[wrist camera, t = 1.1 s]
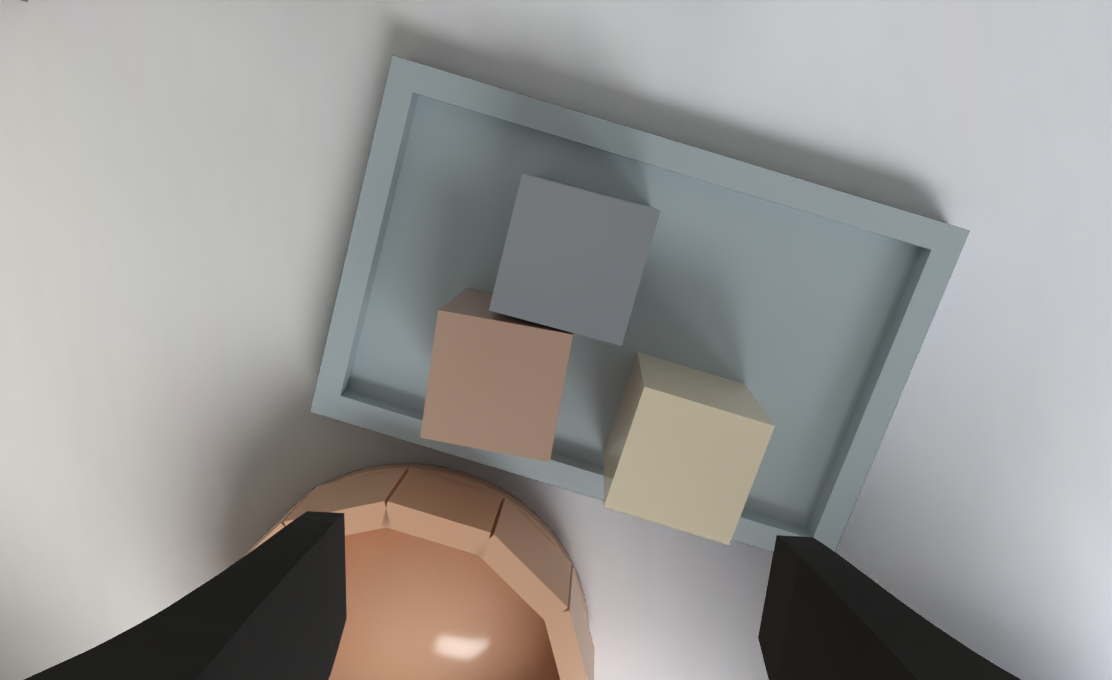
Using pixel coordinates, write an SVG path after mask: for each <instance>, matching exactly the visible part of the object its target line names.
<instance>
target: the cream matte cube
mask: <svg viewBox="0 0 1112 680" xmlns="http://www.w3.org/2000/svg"><path fill="white" fill-rule="evenodd" d="M774 427H775V425H774V424H773V423H772V421H771V420H770V418H769V417H768V416H767V414H766V413H765V411H764V410H763V408H762V407H761V406H760V404H759V403H758V401H757V400H756V399H755V397H754V396H753V394H752V393H751V391H750V390H749V389H748V387H747V386H746V384H743V383H739V382H736V381H733V380H729V379H726V378H723V377H720V376H716V375H713V374H710V373H706V372H703V371H700V370H696V369H693V368H690V367H687V366H683V365H680V364H677V363H673V362H670V361H667V360H664V359H660V358H657V357H654V356H650V355H647V354H644V353H640V352H637V354H636V357H635V360H634V363H633V366H632V369H631V372H630V375H629V378H628V381H627V384H626V387H625V390H624V393H623V396H622V399H621V402H620V405H619V409H618V412H617V415H616V418H615V421H614V424H613V427H612V430H611V433H610V436H609V439H608V442H607V445H606V448H605V451H604V507H605V508H608V509H611V510H615V511H618V512H621V513H624V514H628V515H631V516H634V517H638V518H641V519H644V520H648V521H651V522H654V523H657V524H661V525H664V526H667V527H671V528H674V529H677V530H681V531H684V532H687V533H690V534H694V535H697V536H700V537H704V538H707V539H710V540H713V541H717V542H720V543H723V544H727V545H730V542H731V539H732V537H733V534H734V532H735V529H736V526H737V524H738V521H739V519H740V516H741V513H742V511H743V508H744V506H745V503H746V500H747V498H748V495H749V493H750V490H751V487H752V485H753V482H754V479H755V477H756V474H757V472H758V469H759V466H760V464H761V461H762V459H763V456H764V453H765V451H766V448H767V446H768V443H769V440H770V438H771V435H772V433H773V430H774Z"/></svg>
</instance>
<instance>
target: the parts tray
mask: <svg viewBox="0 0 1112 680" xmlns="http://www.w3.org/2000/svg"><path fill="white" fill-rule="evenodd" d="M522 174H529V175H537V176H541V177H545V178H548V179H552V180H556V181H560V182H563V183H567V184H571V185H574V186H578V187H582V188H586V189H589V190H593V191H597V192H601V193H604V194H608V195H612V196H616V197H619V198H623V199H627V200H631V201H634V202H638V203H642V204H646V205H649V206H652V207H654V208H656V209H658V210H660V211H661V212H660V215H659V218H658V222H657V225H656V229H655V232H654V236H653V239H652V243H651V246H650V250H649V253H648V257H647V260H646V264H645V267H644V271H643V274H642V277H641V281H640V284H639V288H638V291H637V295H636V298H635V302H634V305H633V309H632V312H631V316H630V319H629V323H628V326H627V329H626V333H625V336H624V340H623V343H622V346H620V345H616V344H612V343H608V342H605V341H601V340H597V339H594V338H590V337H586V336H582V335H579V334H575V333H574V334H573V340H572V345H571V351H570V356H569V361H568V367H567V372H566V378H565V383H564V389H563V394H562V400H561V405H560V411H559V416H558V421H557V427H556V432H555V437H554V442H553V447H552V452H551V458H550V462H547V461H541V460H536V459H531V458H525V457H520V456H515V455H510V454H504V453H499V452H494V451H488V450H483V449H478V448H472V447H467V446H462V445H456V444H451V443H446V442H440V441H435V440H430V439H424V438H420V435H421V428H422V421H423V414H424V407H425V400H426V392H427V385H428V378H429V371H430V364H431V357H432V350H433V343H434V335H435V328H436V321H437V314H438V310H439V309H440V308H441V307H443V306H444V305H445V304H446V303H448V302H449V301H450V300H452V299H453V298H454V297H456V296H457V295H458V294H459V293H461V292H462V291H463V290H465V289H466V288H469V289H475V290H480V291H486V292H491V293H493V291H494V286H495V282H496V278H497V274H498V270H499V266H500V262H501V258H502V254H503V250H504V245H505V241H506V237H507V233H508V229H509V225H510V221H511V217H512V213H513V208H514V204H515V200H516V196H517V192H518V188H519V184H520V180H521V176H522ZM969 232H970V230H966V229H963V228H960V227H957V226H953V225H950V224H947V223H943V222H940V221H937V220H933V219H930V218H927V217H924V216H920V215H917V214H914V213H910V212H907V211H904V210H901V209H897V208H894V207H891V206H887V205H884V204H881V203H877V202H874V201H871V200H868V199H864V198H861V197H858V196H854V195H851V194H848V193H845V192H841V191H838V190H835V189H831V188H828V187H825V186H821V185H818V184H815V183H812V182H808V181H805V180H802V179H798V178H795V177H792V176H789V175H785V174H782V173H779V172H775V171H772V170H769V169H765V168H762V167H759V166H756V165H752V164H749V163H746V162H742V161H739V160H736V159H732V158H729V157H726V156H723V155H719V154H716V153H713V152H709V151H706V150H703V149H700V148H696V147H693V146H690V145H686V144H683V143H680V142H676V141H673V140H670V139H667V138H663V137H660V136H657V135H653V134H650V133H647V132H644V131H640V130H637V129H634V128H630V127H627V126H624V125H620V124H617V123H614V122H611V121H607V120H604V119H601V118H597V117H594V116H591V115H588V114H584V113H581V112H578V111H574V110H571V109H568V108H564V107H561V106H558V105H555V104H551V103H548V102H545V101H541V100H538V99H535V98H532V97H528V96H525V95H522V94H518V93H515V92H512V91H508V90H505V89H502V88H499V87H495V86H492V85H489V84H485V83H482V82H479V81H476V80H472V79H469V78H466V77H462V76H459V75H456V74H452V73H449V72H446V71H443V70H439V69H436V68H433V67H429V66H426V65H423V64H419V63H416V62H413V61H410V60H406V59H403V58H400V57H396V56H393V55H392V59H391V64H390V68H389V72H388V77H387V81H386V85H385V90H384V94H383V98H382V103H381V107H380V111H379V116H378V120H377V124H376V129H375V133H374V137H373V142H372V146H371V150H370V155H369V159H368V163H367V168H366V172H365V176H364V181H363V185H362V189H361V194H360V198H359V202H358V207H357V211H356V215H355V220H354V224H353V228H352V233H351V237H350V241H349V246H348V250H347V254H346V259H345V263H344V267H343V272H342V276H341V280H340V285H339V289H338V293H337V298H336V302H335V306H334V311H333V315H332V319H331V324H330V328H329V332H328V337H327V341H326V345H325V350H324V354H323V358H322V363H321V367H320V371H319V376H318V380H317V384H316V389H315V393H314V397H313V402H312V406H311V410H310V412H313V413H316V414H319V415H323V416H326V417H329V418H332V419H336V420H339V421H342V422H346V423H349V424H352V425H356V426H359V427H362V428H365V429H369V430H372V431H375V432H379V433H382V434H385V435H389V436H392V437H395V438H398V439H402V440H405V441H408V442H412V443H415V444H418V445H422V446H425V447H428V448H431V449H435V450H438V451H441V452H445V453H448V454H451V455H454V456H458V457H461V458H464V459H468V460H471V461H474V462H478V463H481V464H484V465H487V466H491V467H494V468H497V469H501V470H504V471H507V472H511V473H514V474H517V475H520V476H524V477H527V478H530V479H534V480H537V481H540V482H543V483H547V484H550V485H553V486H557V487H560V488H563V489H567V490H570V491H573V492H576V493H580V494H583V495H586V496H590V497H593V498H596V499H600V500H603V501H604V451H605V448H606V445H607V442H608V439H609V436H610V433H611V430H612V427H613V424H614V421H615V418H616V415H617V412H618V409H619V405H620V402H621V399H622V396H623V393H624V390H625V387H626V384H627V381H628V378H629V375H630V372H631V369H632V366H633V363H634V360H635V357H636V354H637V352H640V353H644V354H647V355H650V356H654V357H657V358H660V359H664V360H667V361H670V362H673V363H677V364H680V365H683V366H687V367H690V368H693V369H696V370H700V371H703V372H706V373H710V374H713V375H716V376H720V377H723V378H726V379H729V380H733V381H736V382H739V383H743V384H746V386H747V387H748V389H749V390H750V391H751V393H752V394H753V396H754V397H755V399H756V400H757V401H758V403H759V404H760V406H761V407H762V408H763V410H764V411H765V413H766V414H767V416H768V417H769V418H770V420H771V421H772V423H773V424H774V425H775V427H774V430H773V433H772V435H771V438H770V440H769V443H768V446H767V448H766V451H765V453H764V456H763V459H762V461H761V464H760V466H759V469H758V472H757V474H756V477H755V479H754V482H753V485H752V487H751V490H750V493H749V495H748V498H747V500H746V503H745V506H744V508H743V511H742V513H741V516H740V519H739V521H738V524H737V526H736V529H735V532H734V534H733V537H732V539H731V540H735V541H738V542H741V543H745V544H748V545H751V546H754V547H758V548H761V549H764V550H768V551H771V552H774V547H775V542H776V536H777V535H781V536H801V537H813V538H815V539H816V540H818V541H820V542H821V543H823V544H824V545H826V546H827V547H828V548H830V549H831V550H833V551H834V552H835V550H836V548H837V546H838V543H839V541H840V538H841V536H842V534H843V531H844V529H845V527H846V524H847V522H848V519H849V517H850V515H851V512H852V510H853V508H854V505H855V503H856V500H857V498H858V496H859V493H860V491H861V488H862V486H863V484H864V481H865V479H866V477H867V474H868V472H869V469H870V467H871V465H872V462H873V460H874V458H875V455H876V453H877V450H878V448H879V446H880V443H881V441H882V439H883V436H884V434H885V431H886V429H887V427H888V424H889V422H890V419H891V417H892V415H893V412H894V410H895V408H896V405H897V403H898V400H899V398H900V396H901V393H902V391H903V389H904V386H905V384H906V381H907V379H908V377H909V374H910V372H911V370H912V367H913V365H914V362H915V360H916V358H917V355H918V353H919V350H920V348H921V346H922V343H923V341H924V339H925V336H926V334H927V331H928V329H929V327H930V324H931V322H932V320H933V317H934V315H935V312H936V310H937V308H938V305H939V303H940V301H941V298H942V296H943V293H944V291H945V289H946V286H947V284H948V281H949V279H950V277H951V274H952V272H953V270H954V267H955V265H956V262H957V260H958V258H959V255H960V253H961V251H962V248H963V246H964V243H965V241H966V239H967V236H968V234H969Z"/></svg>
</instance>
